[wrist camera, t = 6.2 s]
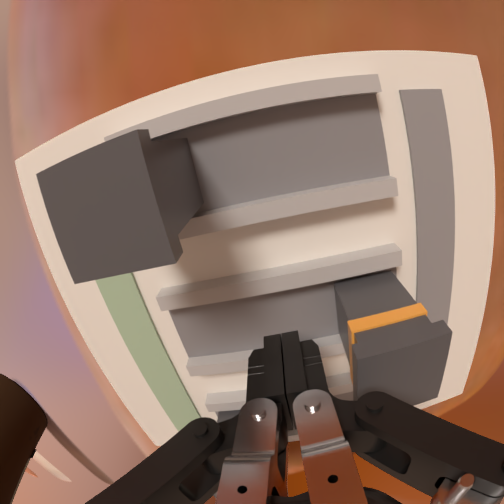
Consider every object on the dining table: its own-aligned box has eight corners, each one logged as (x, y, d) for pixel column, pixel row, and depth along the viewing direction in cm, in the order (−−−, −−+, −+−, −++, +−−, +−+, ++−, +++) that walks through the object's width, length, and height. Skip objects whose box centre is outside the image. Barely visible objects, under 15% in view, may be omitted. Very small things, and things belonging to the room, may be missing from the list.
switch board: (457, 60, 12) (558, 41, 4) (452, 378, 20) (491, 448, 13) (34, 156, 15) (-67, 185, 7) (160, 428, 23) (139, 504, 16)
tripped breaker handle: (395, 263, 14) (452, 331, 9) (395, 322, 15) (437, 397, 10) (326, 278, 14) (356, 359, 9) (333, 337, 16) (357, 421, 10)
